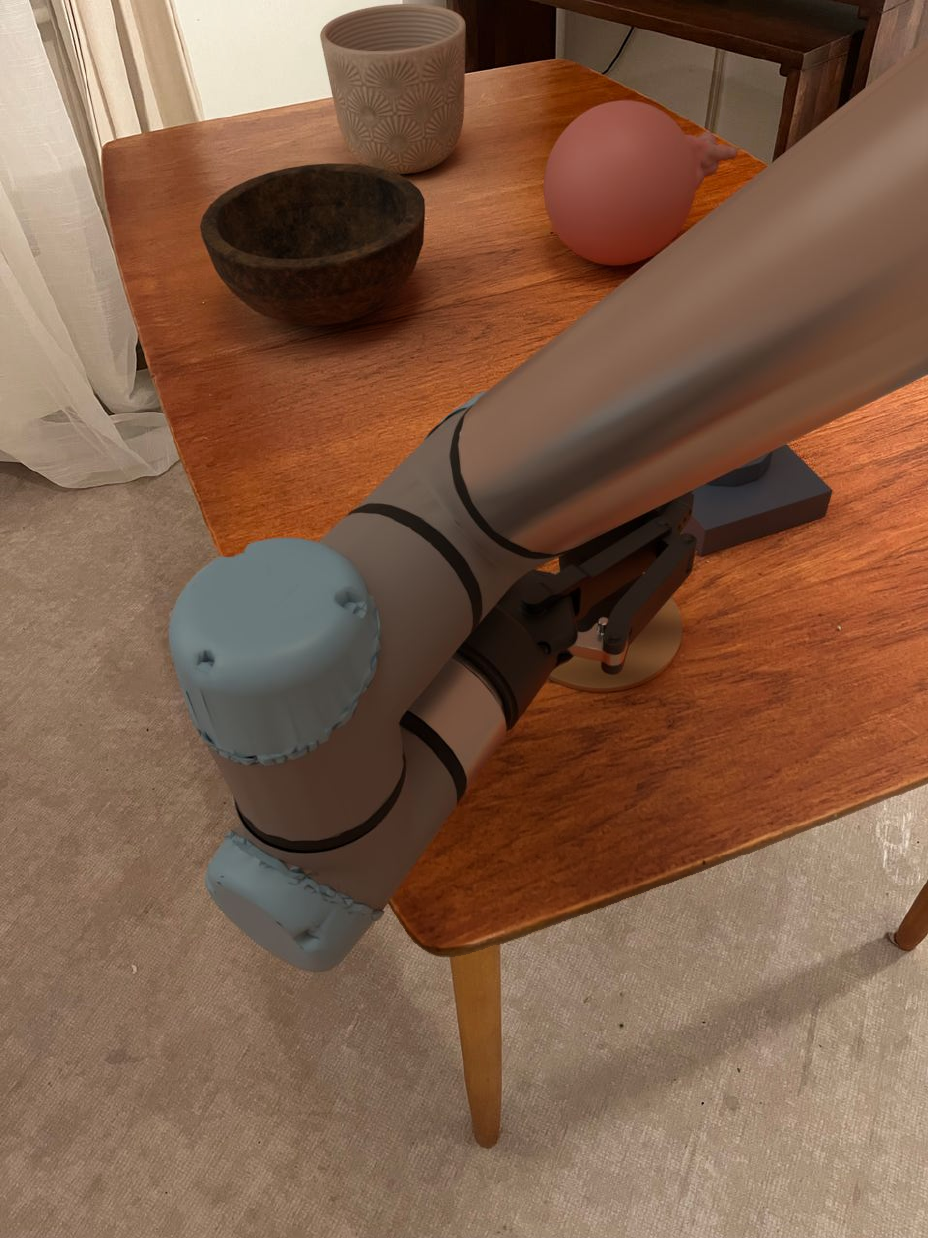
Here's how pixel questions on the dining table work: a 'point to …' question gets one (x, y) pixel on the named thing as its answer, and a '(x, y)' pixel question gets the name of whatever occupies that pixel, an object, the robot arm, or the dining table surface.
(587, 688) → the coaster
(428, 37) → the planter
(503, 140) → the dining table surface
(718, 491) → the plate
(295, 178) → the bowl
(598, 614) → the drinking cup
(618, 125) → the balloon
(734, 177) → the dining table surface
